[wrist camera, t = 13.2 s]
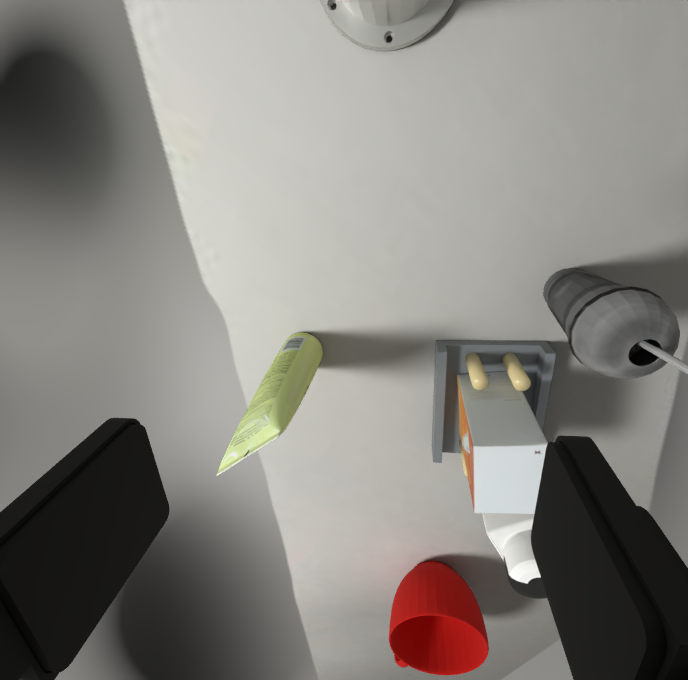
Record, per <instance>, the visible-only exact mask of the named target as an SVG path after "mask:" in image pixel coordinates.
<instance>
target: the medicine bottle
mask: <svg viewBox="0 0 688 680" xmlns="http://www.w3.org/2000/svg"><path fill="white" fill-rule="evenodd" d="M482 514H483V518H484V523H485V528H486V533H487V535H488V537H489V538H490V540H491V541H492V543H493V545H494V546H495V548H496V549H497V551H498V553H499V554H500V556H501V557H502V559H503V560H504V563H505V567H506V571H507V575H508V579H509V583H510V585H511V586H512V587H513V588H514V589H515V590H516V591H517V592H519V593H520V594H522V595H524V596H527V597H530V598H539V599H540V598H547V595H546V592H545V589H544V585H543V582H542V579H541V576H540V573H539V570H538V567H537V564H536V560H535V557H534V554H533V551H532V546H531V530H532V525H533V519H534V514H505V513H482Z"/></svg>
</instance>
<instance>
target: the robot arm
mask: <svg viewBox="0 0 688 680" xmlns="http://www.w3.org/2000/svg"><path fill="white" fill-rule="evenodd" d="M320 1H321V4H322V6H323V8H324V10H325V12H326V14H327V15H328V17H329V19H330V20H331V22H332V23H333V25H334V26H335V27H336V28H337V29H338V30H339V31H340V32H341V34H342V35H344V36H345V37H346V38H348V39H349V40H350V41H352V42H353V43H355V44H357V45H359V46H361V47H364V48H366V49H371V50H376V51H393V50H397V49H400V48H404V47H407V46H409V45H411V44H413V43H415V42H417V41H419V40H420V39H422V38H423V37H424V36H425V35H427V34H428V33H429V32H430V31H432V30H433V29H434V28H435V26H436V25H437V24H438V23H439V22H440V21H441V20H442V19H443V17H444V16H445V14H446V13H447V11H448V10H449V8H450V6H451V5H452V3H453V1H454V0H320ZM333 4H336V5H337V7H336V9H335V10H332V9H331V7H332V5H333ZM388 37H392V41H391V42H390V43H388V42H387V41H386V40H387V38H388ZM168 515H169V504H168V501H167V498H166V495H165V491H164V488H163V485H162V481H161V478H160V475H159V472H158V468H157V465H156V462H155V459H154V455H153V452H152V448H151V445H150V442H149V439H148V435H147V432H146V429H145V427H143V426H142V425H140V423H139V421H137V420H136V419H131V418H111V419H109V420H107V421H106V422H105V423H103V424H102V425H101V426H100V427H99V428H98V429H97V430H95V431H94V432H93V433H92V434H91V435H90V436H88V437H87V438H86V439H85V440H84V441H82V442H81V443H80V444H79V445H78V446H77V447H76V448H74V449H73V450H72V451H71V452H70V453H69V454H67V455H66V456H65V457H64V458H63V459H62V460H60V461H59V462H58V463H57V464H56V465H55V466H53V467H52V468H51V469H50V470H49V471H48V472H47V473H46V474H44V475H43V476H42V477H41V478H40V479H38V480H37V481H36V482H35V483H34V484H33V485H31V486H30V487H29V488H28V489H27V490H26V491H25V492H23V493H22V494H21V495H20V496H19V497H18V498H16V499H15V500H14V501H13V502H12V503H11V504H9V505H8V506H7V507H6V508H5V509H4V510H3V511H1V512H0V680H54V679H55V678H56V676H57V675H58V674H59V672H61V671H63V670H65V669H66V668H67V667H68V666H69V665H70V664H71V662H72V661H73V659H74V658H75V657H76V655H77V654H78V652H79V651H80V649H81V648H82V646H83V644H84V643H85V642H86V640H87V639H88V637H89V636H90V634H91V633H92V631H93V630H94V628H95V627H96V625H97V624H98V622H99V621H100V619H101V618H102V616H103V615H104V613H105V612H106V610H107V609H108V607H109V606H110V604H111V603H112V601H113V600H114V598H115V597H116V595H117V594H118V592H119V591H120V589H121V588H122V586H123V585H124V583H125V582H126V580H127V579H128V577H129V576H130V574H131V573H132V571H133V570H134V569H135V567H136V566H137V564H138V563H139V561H140V560H141V558H142V557H143V555H144V554H145V552H146V551H147V549H148V548H149V546H150V545H151V543H152V541H153V540H154V539H155V537H156V536H157V534H158V532H159V531H160V530H161V528H162V527H163V525H164V524H165V522H166V520H167V518H168ZM531 546H532V551H533V554H534V557H535V560H536V564H537V567H538V570H539V573H540V576H541V579H542V582H543V585H544V589H545V592H546V595H547V598H548V601H549V604H550V607H551V610H552V613H553V617H554V620H555V623H556V626H557V629H558V632H559V635H560V638H561V642H562V645H563V648H564V651H565V654H566V657H567V660H568V663H569V666H570V670H571V672H572V676H573V679H574V680H688V568H687V567H686V565H685V564H684V562H683V561H682V559H681V558H680V557H679V555H678V553H677V552H676V551H675V549H674V548H673V546H672V545H671V543H670V542H669V541H668V539H667V537H666V536H665V535H664V533H663V532H662V530H661V529H660V527H659V526H658V524H657V523H656V522H655V520H654V519H653V517H652V516H651V515H650V514H649V513H648V511H647V510H645V509H644V508H642V507H640V506H636V505H635V503H634V502H633V500H632V499H631V497H630V496H629V494H628V493H627V491H626V490H625V488H624V487H623V485H622V484H621V482H620V481H619V479H618V478H617V476H616V475H615V473H614V472H613V470H612V469H611V467H610V466H609V464H608V463H607V461H606V460H605V458H604V457H603V455H602V454H601V452H600V450H599V449H598V447H597V446H596V444H595V443H594V441H593V440H592V439H591V438H589V437H581V436H558V437H557V439H556V442H549V443H548V444H547V447H546V452H545V458H544V463H543V469H542V474H541V480H540V486H539V491H538V497H537V502H536V508H535V514H534V519H533V525H532V530H531Z"/></svg>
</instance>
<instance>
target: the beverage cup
mask: <svg viewBox="0 0 688 680" xmlns="http://www.w3.org/2000/svg"><path fill="white" fill-rule="evenodd" d="M544 298H545V301H546V302H547V304H548V307H549V308H550V310H551V312H552V313H553V315H554V316H555V318H556V319H557V321H558V323H559V324H560V326H561V327H562V329H563V330H564V332H565V333H566V335H567V337H568V340H569V345H570V348H571V351H572V354H573V355H574V356H575V357H576V358H577V359H578V360H579V362H580V363H582V364H584V365H586V366H587V367H589V368H591V369H593V370H595V371H596V372H598V373H600V374H602V375H605V376H609V377H614V378H619V379H628V378H639V377H642V376H645V375H649V374H651V373H653V372H655V371H657V370H658V369H660V368H662V367H663V366H664V365H665V364H666V363H667V362H668V363H669V364H671V365H673V366H675V367H676V368H678V369H680V370H681V371H683V372H685V373H686V374H688V364H686V363H685V362H683V361H681V360H679V359H678V358H676V357H674V356H673V355H674V353H675V351H676V349H677V348H678V343H679V337H680V330H679V326H678V322H677V319H676V316H675V315H674V314H673V312H672V311H671V310H670V309H669V307H668V306H667V305H666V304H665V302H664V301H663V300H662V299H661V298H660V296H658V295H656V294H654V293H653V292H651V291H649V290H647V289H642V288H637V287H627V286H622V285H619V284H617V283H614V282H612V281H609V280H606V279H604V278H601V277H599V276H596V275H593V274H591V273H588V272H586V271H580V270H578V269H573V268H569V269H563V270H560V271H558V272H556V273H555V274H553V275H552V276H551V277H550V278H549V279H548V281H547V282H546V284H545V287H544Z"/></svg>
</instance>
